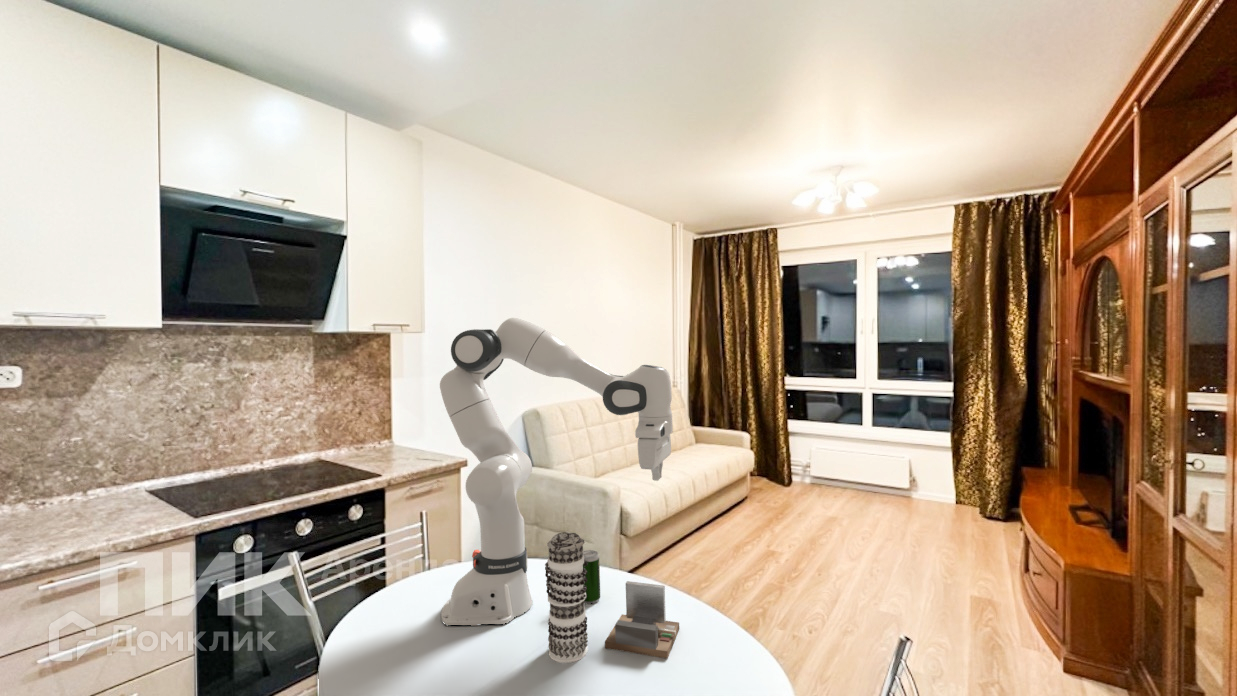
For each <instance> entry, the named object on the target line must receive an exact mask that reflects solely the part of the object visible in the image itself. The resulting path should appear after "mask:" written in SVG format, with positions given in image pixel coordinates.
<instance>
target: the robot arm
mask: <svg viewBox="0 0 1237 696" xmlns="http://www.w3.org/2000/svg"><path fill="white" fill-rule="evenodd" d="M450 355H451V358H452V360H453V362H454V363H455V365H456V366H455V367H454V369H451V370H449V371H448V372H446V373H445V374H444V375H443V376H442V377H441V379H440V381H439V389H440V393H441V397H442V400H443V404H444V407H445V411H446V412H447V414H448V417H449V419H450V422H451V423H452V425H453V427H454V430H455V433H456V435H457V437H458V438H459V441H460V443H461V445H462V446H463V447H464V448H466V449H468V450H469V451H470V452H471V453H472V454H473V455H474V456H475V458H476V459H477V460H478V461H479V463H478V464H477V465H475V467H474V468H473V469H472V470H471V472H470V473H469V475H468V476H467V478H466V481H465V492H466V494H467V497H468V498H469V500H470V501H471V502H472V503H473V504H474V506H475V509H476V513H477V516H478V521H479V529H480V533H479V534H480V550H479V549H474V550H473V551H472V554H471V555H472V556H471V557H472V568H471V569H470V570H469V571H468V572H467V573H466V574H465V575H463V576H462V577H460V579H458V581H456V583H455V585H454V587H453V589H452V592H451V596H450V598H449V599H448V600H447V601H446V602H445V603H444V605H443V607H442V609H441V613H440V615H441V616H440V619H441V618H442V620H441V622H442V621H443V622H444V623H445V624H446V625H471V626H478V625H477V624H480V625H479V626H482V625H481V624H503V625H506V624H505V623H507V624H508V622H509V621H510V622H511V621H512V620H514V619H515V618H516V616H517V617H519V616H521V615H523V614H525V613H526V612H527V611H529V610H530V609H531V608H532V606H533V599H532V595H531V591H530V588H529V587H530V586H529V583H528V582H529V581H528V576H527V572H528V552H527V547H526V546H525V542H526V541H525V537H526V536H525V535H526V534H525V519H524V516H523V515H522V514H521V512H520V508H519V505H518V500H517V493H518V491H519V490H520V489H522V488H523V487H524V486H525V485H526V484H527V482H528V481H529V479H530V476H531V474H532V471H533V464H532V460H531V458H530V457H529V455H528V454H527V453H525V452H524V451H522V449H520V447H519V446H518V445H517V444H516V442H515V441H514V440H513V438H512V437H511V435H510V434H509V432H508V431H507V430H506V428H505V427H504V426H503V424H502V422H501V420H500V417H499V416H498V414H497V411H496V410H495V407H494V405H493V403H492V400H491V398H490V397H489V394H488V393H487V390H486V389H485V385H484V381H486V380H487V379H488V378H489V377H490V376H491V375H492V374H494V372H496V371H497V370H498V369H499V368H500V367H501V365H502V363H503V361H504V359H509V360H512V361H515V362H516V363H518V364H520V365H521V366H523V367H525V368H528V369H529V370H531V371H533V372H535V373H538V374H540V375H543V376H546V377H552V378H563V379H568V380H572V381H573V382H574V381H575V382H577V383H579V384H581V385H583V386H585V387H587V388H588V389H590V390H592V391H593V392H595V393H597V394H599V395H600V396H601V397H602V403H603V405H604V407H605V409H606V410H607V411H608V412H610V413H611V414H614V415H615V416H626V415H629V414H634V413H638V423H637V427H636V429H635V432H634V433H635V434H634V435H635V438H636V439H637V455H638V464H639V467H640V469H641V470H650V471H651V474H652V475H651V476H652V478H651V479H652V480H653V481H656V482H658V481H660V480H661V478H662V477H663V475H662V470H663V466H664V461H665V460H666V459H667V458H669V456H670V455H671V453H672V442H671V434H673V432H674V431H673V429H674V428H673V412H672V409H671V404H672V399H673V398H672V397H673V396H672V395H673V394H672V384H671V383H672V382H671V381H672V380H671V377H670V372H669V371H668V370H667V369H665V368H664V367H662V366H657V365H653V364H652V365H651V364H641V365H640V366H639V367H638V368H636V369H635V370H633V371H632V372H630V373H627V374H625V375H615V374H612V373H609V372H607V371H605V370H603V369H601V368H600V367H597V366H596V365H594V364H592V363H590V362H588V361H586V360H585V359H584V358H582V357H581V356H580V355H578V353H576V352H575V351H574V350H573V349H572V348H570V347H569V346H568V345H567V344H566V343H565V342H563V341H562V340H561V339H560V338H559V337H557V336H556V335H554V334H552V333H551V332H549V331H548V330H546V329H545V328H542V327H541V326H538V325H536V324H534V323H531V322H529V321H526V320H523V319H521V318H518V317H511V318H508V319H506V320H504V321H502V323H501V324H500V325H499V327H498V328H497V330H496V331H494V330H493V329H487V328H486V329H475V328H474V329H468V330H465V331H462V332H460V333H458V334H457V335H456V336H455V338H454V339H453V341H452V342H451V346H450ZM524 612H525V613H524ZM514 617H515V618H514ZM510 622H509V623H510Z"/></svg>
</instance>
